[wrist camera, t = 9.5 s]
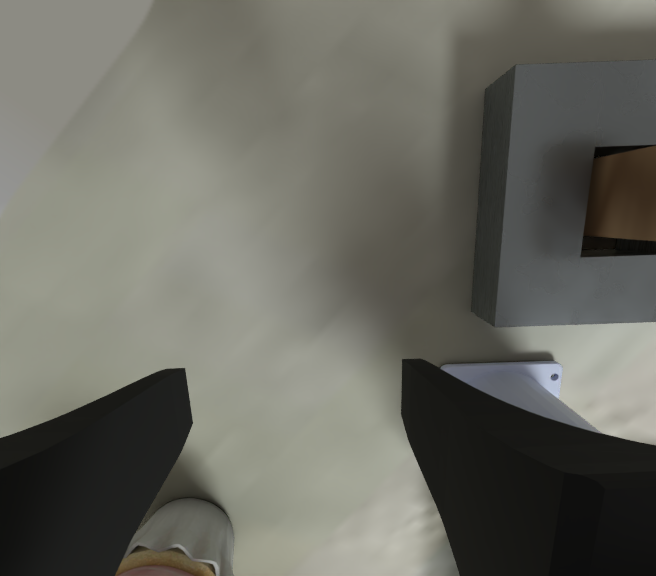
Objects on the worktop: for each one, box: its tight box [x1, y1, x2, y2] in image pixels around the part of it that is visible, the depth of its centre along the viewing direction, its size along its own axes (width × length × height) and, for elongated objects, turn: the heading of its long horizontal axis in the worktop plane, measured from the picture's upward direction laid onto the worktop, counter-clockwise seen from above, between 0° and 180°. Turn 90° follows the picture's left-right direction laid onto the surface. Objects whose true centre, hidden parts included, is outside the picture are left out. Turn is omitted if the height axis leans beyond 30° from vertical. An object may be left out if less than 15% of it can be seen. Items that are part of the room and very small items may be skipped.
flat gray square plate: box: [471, 60, 656, 327], centre depth 18 cm, size 13×13×3 cm
